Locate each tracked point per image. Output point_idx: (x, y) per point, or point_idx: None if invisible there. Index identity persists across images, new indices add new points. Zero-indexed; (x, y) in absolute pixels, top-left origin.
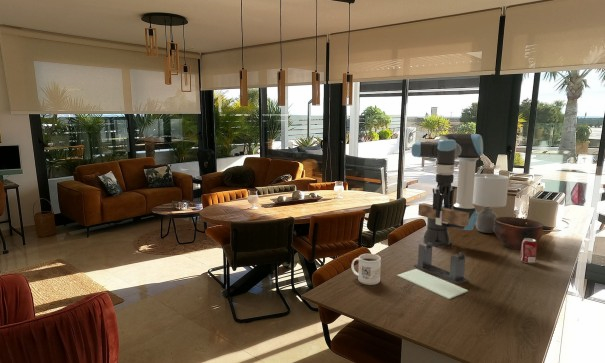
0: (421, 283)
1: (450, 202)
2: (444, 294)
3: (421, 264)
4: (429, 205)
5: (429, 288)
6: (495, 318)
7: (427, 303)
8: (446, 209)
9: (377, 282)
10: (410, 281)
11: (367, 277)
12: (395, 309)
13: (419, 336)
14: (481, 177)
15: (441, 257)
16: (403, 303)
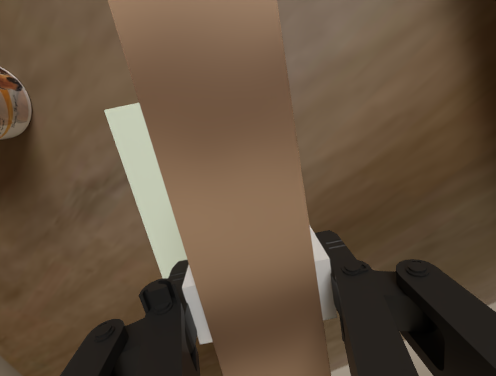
0: (145, 193)
1: (441, 373)
2: (165, 263)
3: None
4: (210, 110)
5: (148, 225)
6: (200, 358)
7: (101, 275)
8: (263, 370)
9: (10, 137)
10: (124, 165)
11: None
12: (9, 273)
13: (16, 359)
14: None
15: (374, 22)
16: (42, 257)
